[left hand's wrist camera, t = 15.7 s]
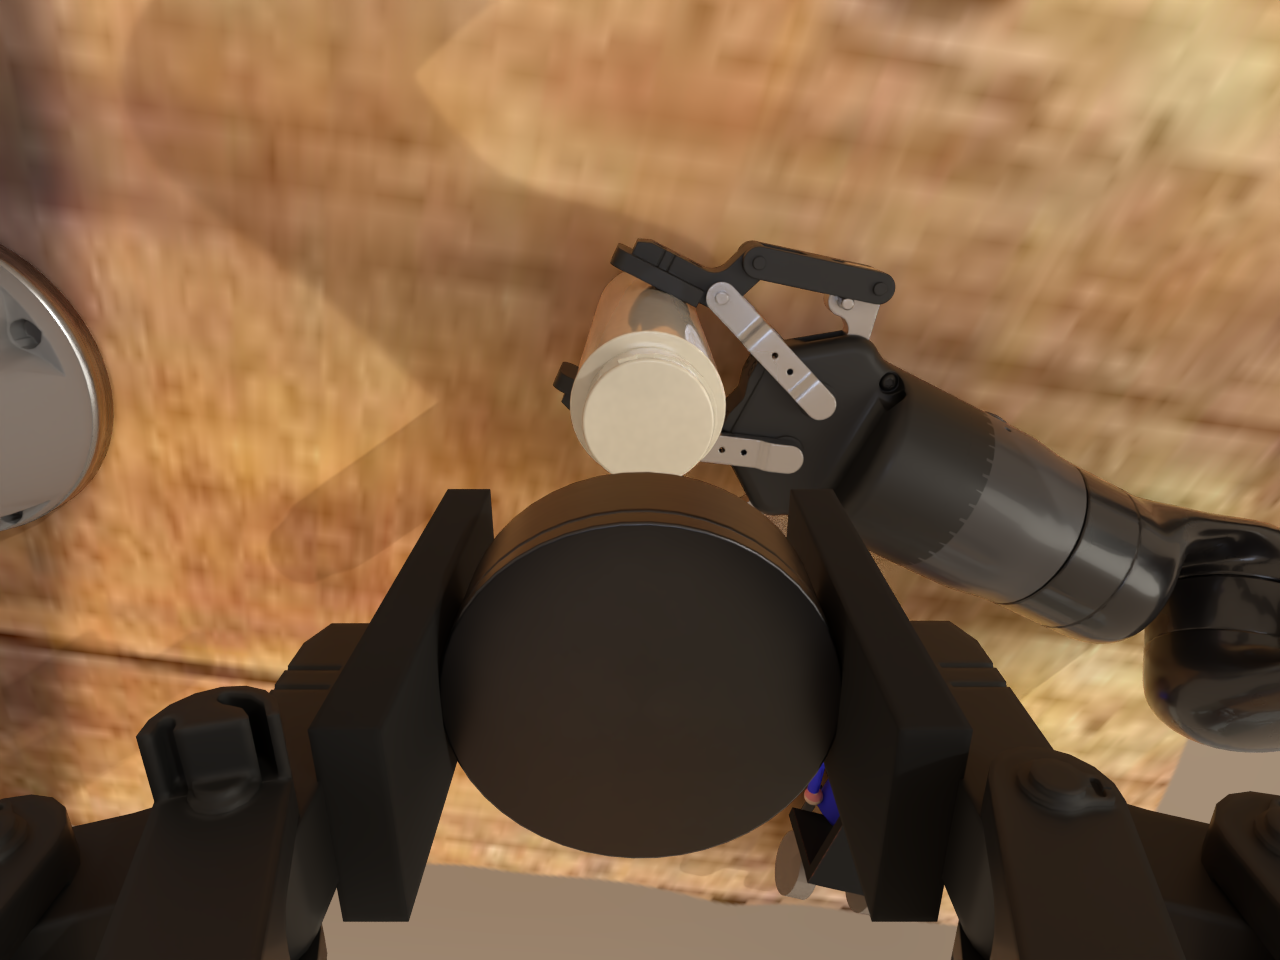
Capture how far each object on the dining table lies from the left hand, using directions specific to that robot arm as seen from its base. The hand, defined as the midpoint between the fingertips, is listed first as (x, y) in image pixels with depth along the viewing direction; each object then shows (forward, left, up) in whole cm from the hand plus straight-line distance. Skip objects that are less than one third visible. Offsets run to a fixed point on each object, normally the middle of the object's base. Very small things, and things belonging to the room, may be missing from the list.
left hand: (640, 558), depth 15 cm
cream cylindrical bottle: (0, 0, -26) cm, 26 cm away
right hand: (0, +2, -19) cm, 20 cm away
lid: (0, 0, +4) cm, 4 cm away
